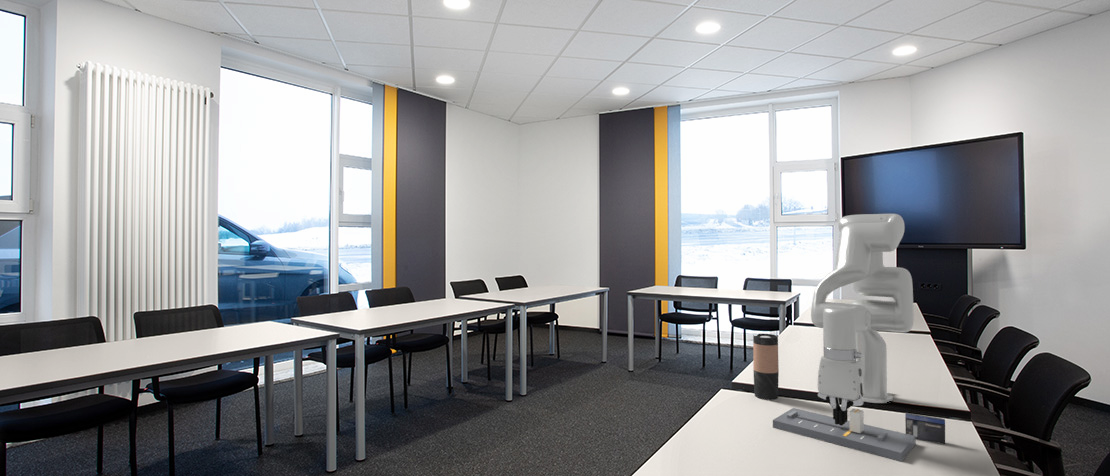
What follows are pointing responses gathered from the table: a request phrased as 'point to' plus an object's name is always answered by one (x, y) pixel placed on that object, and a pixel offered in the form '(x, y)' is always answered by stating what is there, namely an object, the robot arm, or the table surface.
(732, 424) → the table surface
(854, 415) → the fader
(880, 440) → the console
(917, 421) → the mini dv tape
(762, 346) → the travel mug
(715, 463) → the table surface
